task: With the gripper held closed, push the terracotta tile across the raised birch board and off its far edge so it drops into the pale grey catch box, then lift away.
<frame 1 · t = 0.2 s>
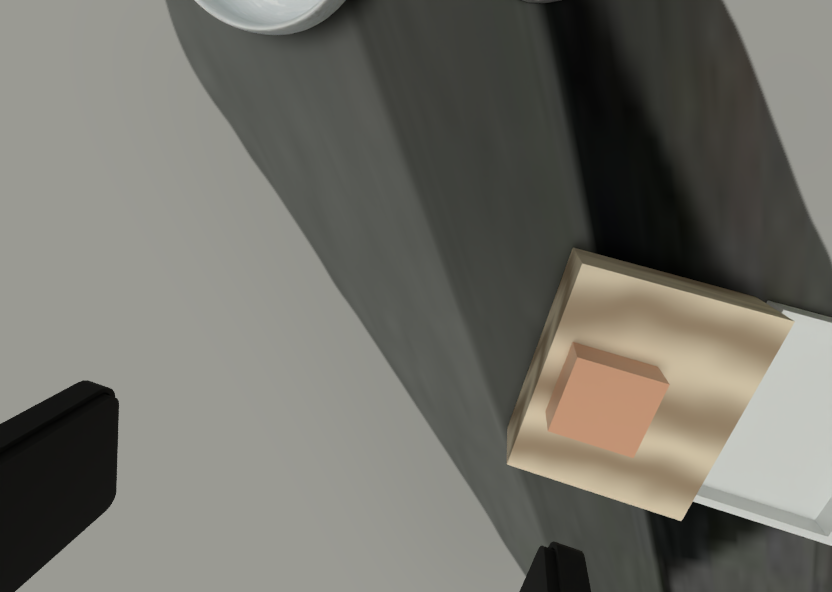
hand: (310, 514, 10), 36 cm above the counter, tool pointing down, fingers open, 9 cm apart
birch board: (619, 368, 45), on the counter
catch box: (793, 419, 43), on the counter
terracotta tile: (599, 390, 39), point 6 cm above the counter, touching birch board
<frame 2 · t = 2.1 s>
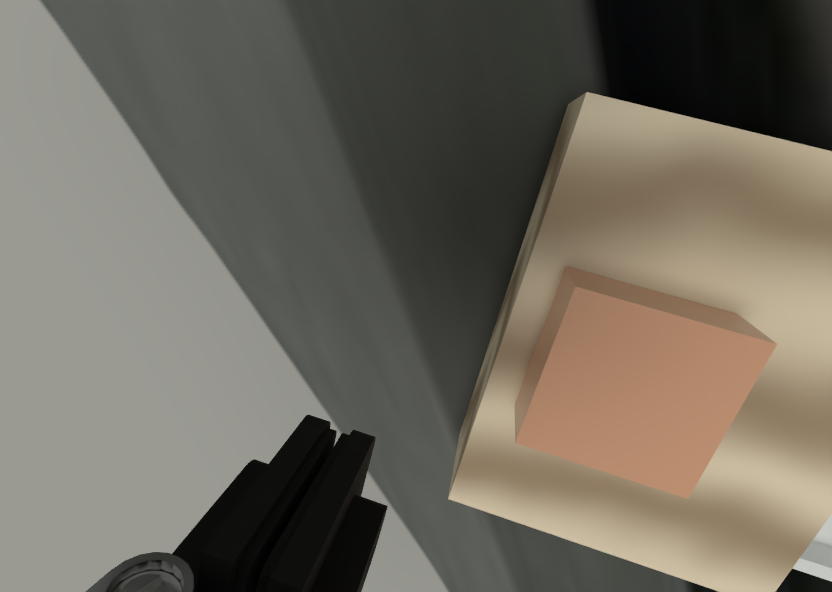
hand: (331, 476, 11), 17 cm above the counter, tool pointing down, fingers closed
birch board: (648, 330, 26), on the counter
terracotta tile: (617, 362, 20), point 6 cm above the counter, touching birch board
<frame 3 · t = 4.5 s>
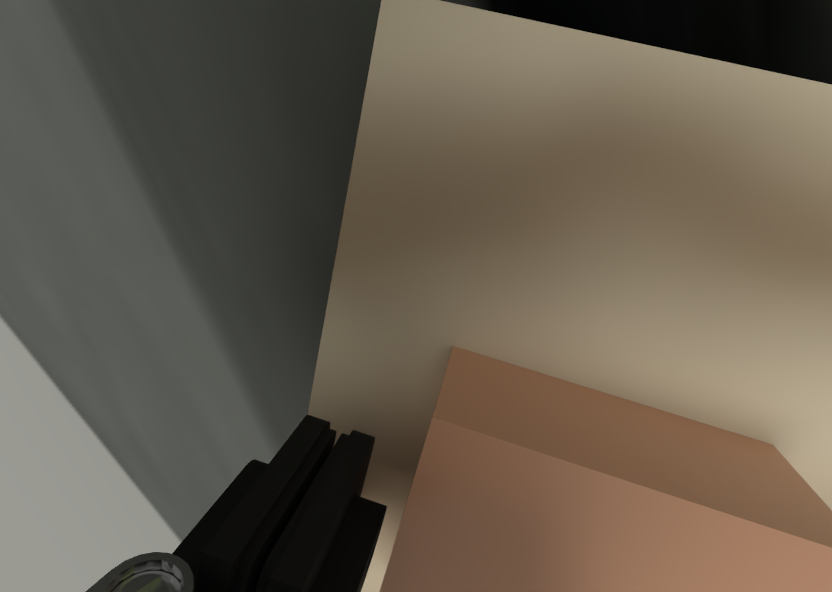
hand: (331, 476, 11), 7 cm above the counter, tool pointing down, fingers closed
birch board: (580, 403, 17), on the counter
terracotta tile: (553, 514, 11), point 6 cm above the counter, touching birch board, gripper
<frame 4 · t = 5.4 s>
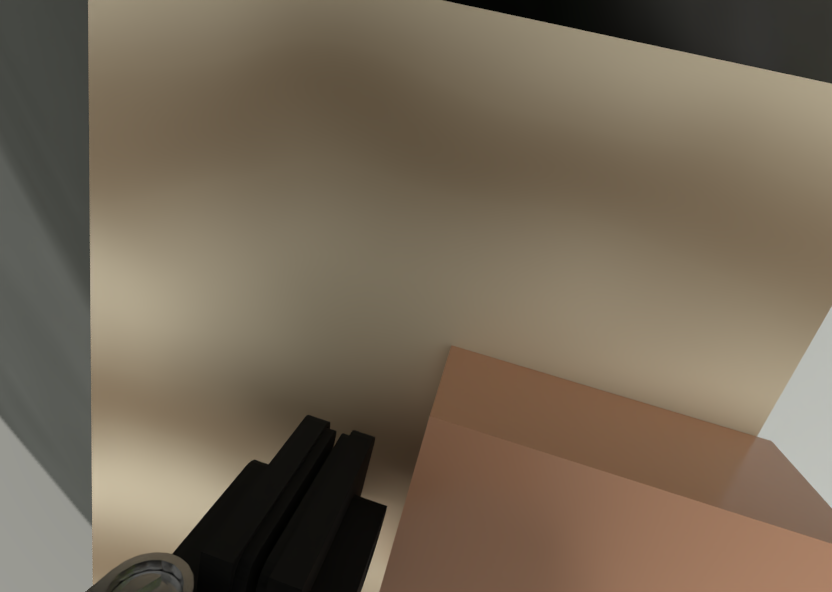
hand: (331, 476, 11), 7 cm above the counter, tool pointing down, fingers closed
birch board: (414, 352, 17), on the counter
terracotta tile: (553, 512, 11), point 6 cm above the counter, touching gripper
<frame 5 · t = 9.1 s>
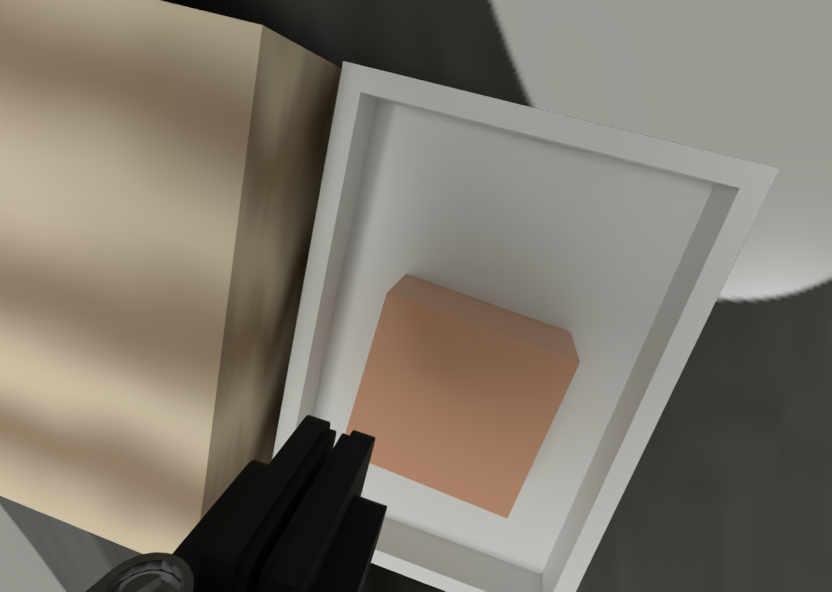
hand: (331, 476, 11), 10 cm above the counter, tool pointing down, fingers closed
birch board: (145, 254, 22), on the counter
catch box: (469, 357, 20), on the counter
terracotta tile: (449, 410, 17), point 3 cm above the counter, tilted 180°, touching catch box
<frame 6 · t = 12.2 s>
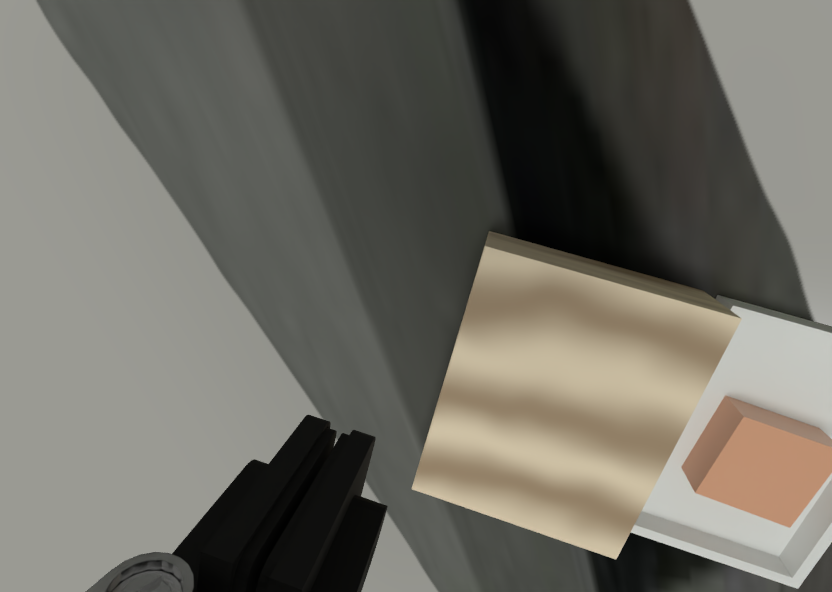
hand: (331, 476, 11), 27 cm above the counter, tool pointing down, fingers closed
birch board: (548, 375, 38), on the counter
catch box: (751, 438, 36), on the counter
terracotta tile: (767, 473, 33), point 3 cm above the counter, tilted 180°, touching catch box
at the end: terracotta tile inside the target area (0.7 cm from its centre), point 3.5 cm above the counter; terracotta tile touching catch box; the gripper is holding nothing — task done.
